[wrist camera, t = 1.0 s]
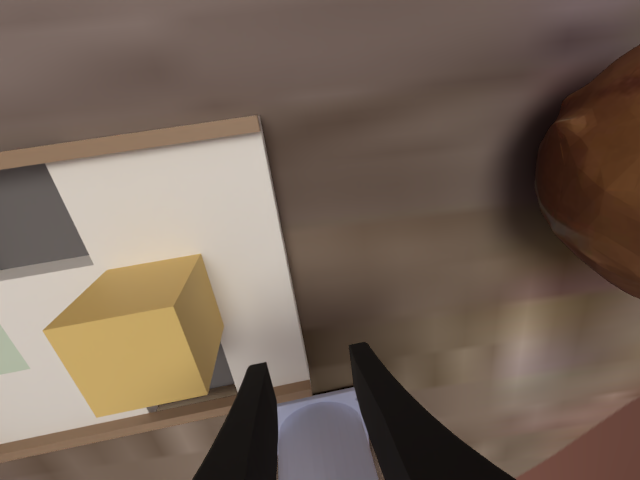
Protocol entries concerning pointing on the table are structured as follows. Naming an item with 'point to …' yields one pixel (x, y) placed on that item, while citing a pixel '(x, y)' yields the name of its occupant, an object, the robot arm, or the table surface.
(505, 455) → the table surface
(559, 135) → the brown wooden vase
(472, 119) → the table surface
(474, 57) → the table surface
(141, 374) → the block
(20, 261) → the trap tray
